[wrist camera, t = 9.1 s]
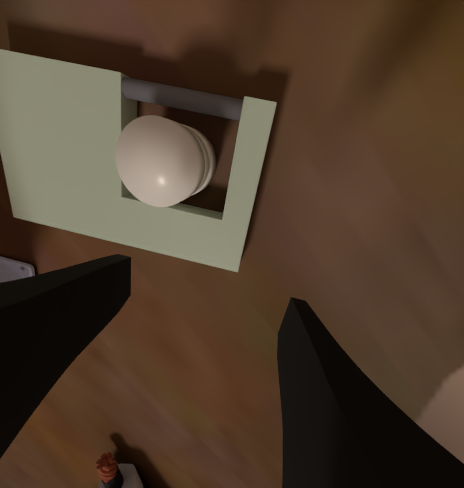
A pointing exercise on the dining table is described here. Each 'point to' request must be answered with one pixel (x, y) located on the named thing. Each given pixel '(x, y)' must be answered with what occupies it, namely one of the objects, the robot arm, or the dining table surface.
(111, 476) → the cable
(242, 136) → the pale green panel
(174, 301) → the dining table surface
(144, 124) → the white round knob
